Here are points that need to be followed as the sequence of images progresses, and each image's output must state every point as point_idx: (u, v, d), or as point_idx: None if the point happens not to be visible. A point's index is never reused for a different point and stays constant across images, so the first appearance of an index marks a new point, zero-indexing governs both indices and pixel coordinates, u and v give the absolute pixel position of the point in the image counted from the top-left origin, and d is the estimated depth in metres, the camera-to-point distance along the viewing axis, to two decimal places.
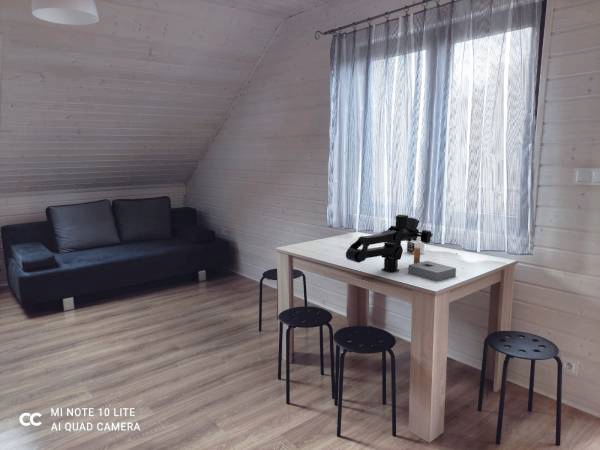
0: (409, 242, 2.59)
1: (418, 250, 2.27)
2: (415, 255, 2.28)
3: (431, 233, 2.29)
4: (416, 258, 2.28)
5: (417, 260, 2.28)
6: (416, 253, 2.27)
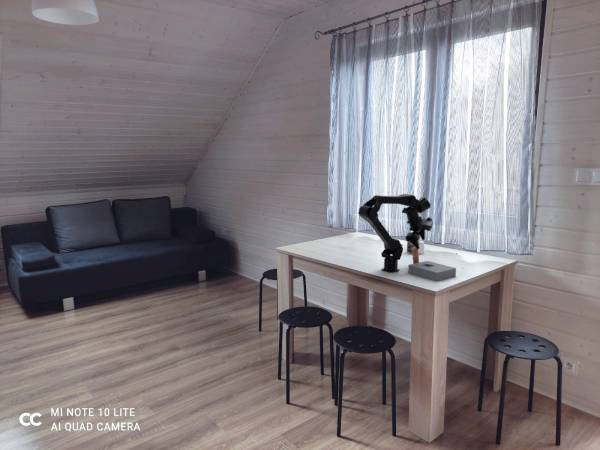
0: (409, 242, 2.59)
1: (416, 250, 2.27)
2: (413, 255, 2.28)
3: (418, 246, 2.25)
4: (415, 257, 2.28)
5: (416, 260, 2.28)
6: (414, 252, 2.27)
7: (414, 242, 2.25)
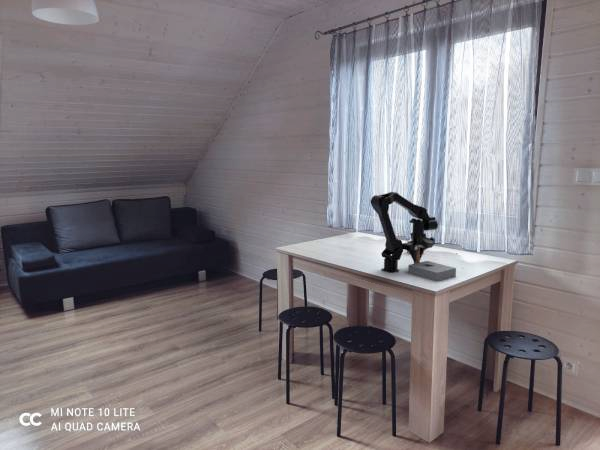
0: (409, 242, 2.59)
1: None
2: None
3: (415, 258, 2.27)
4: (416, 257, 2.28)
5: (417, 260, 2.28)
6: None
7: (412, 253, 2.27)
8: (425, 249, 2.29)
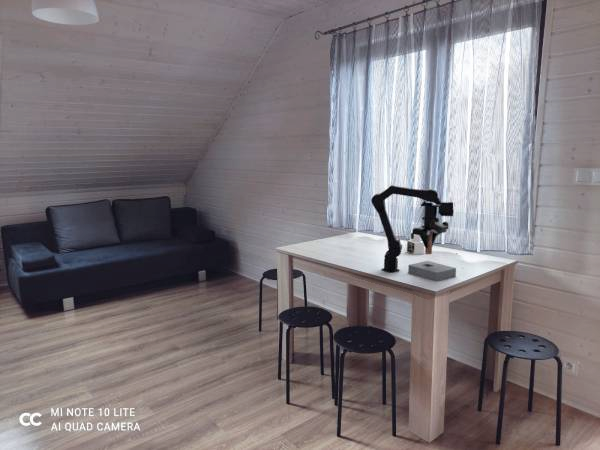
0: (409, 242, 2.59)
1: None
2: None
3: (427, 244, 2.14)
4: (428, 243, 2.14)
5: (429, 246, 2.15)
6: None
7: (424, 239, 2.14)
8: (438, 234, 2.15)
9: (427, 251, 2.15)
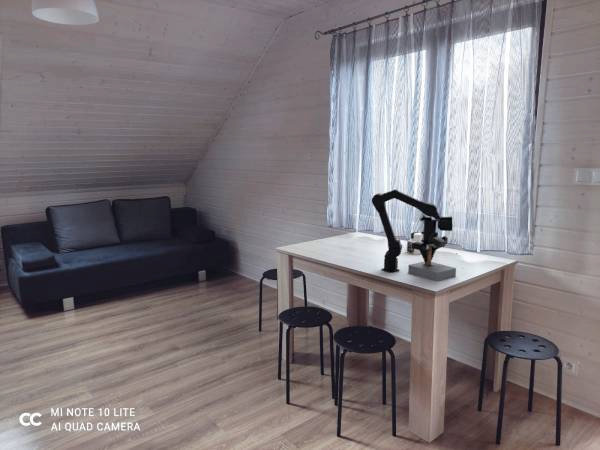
0: (409, 242, 2.59)
1: None
2: None
3: (426, 258, 2.15)
4: None
5: (428, 260, 2.16)
6: None
7: (423, 253, 2.15)
8: None
9: (426, 265, 2.16)
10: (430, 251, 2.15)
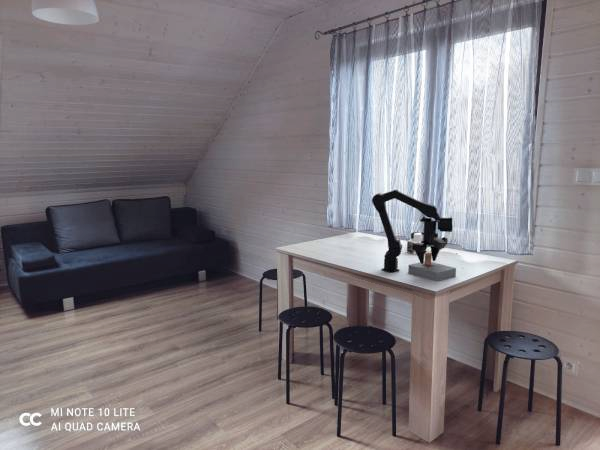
0: (409, 242, 2.59)
1: (429, 256, 2.15)
2: (426, 261, 2.16)
3: (422, 260, 2.13)
4: (427, 264, 2.16)
5: (428, 266, 2.16)
6: (427, 258, 2.16)
7: (419, 255, 2.14)
8: (440, 249, 2.18)
9: None
10: (430, 257, 2.15)
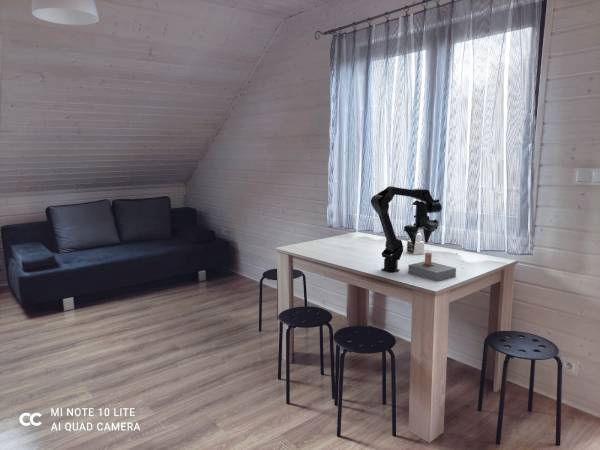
0: (409, 242, 2.59)
1: (429, 256, 2.15)
2: (426, 261, 2.16)
3: (414, 241, 2.24)
4: (427, 264, 2.16)
5: (428, 266, 2.16)
6: (427, 258, 2.16)
7: (411, 236, 2.24)
8: (432, 231, 2.28)
9: None
10: (430, 257, 2.15)
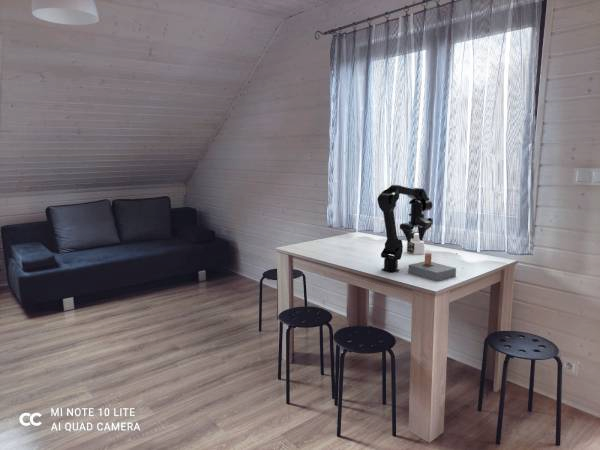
0: None
1: (429, 256, 2.15)
2: (426, 261, 2.16)
3: (409, 239, 2.30)
4: (427, 263, 2.16)
5: (428, 266, 2.16)
6: (427, 258, 2.16)
7: (407, 234, 2.31)
8: (427, 229, 2.35)
9: None
10: (430, 257, 2.16)
